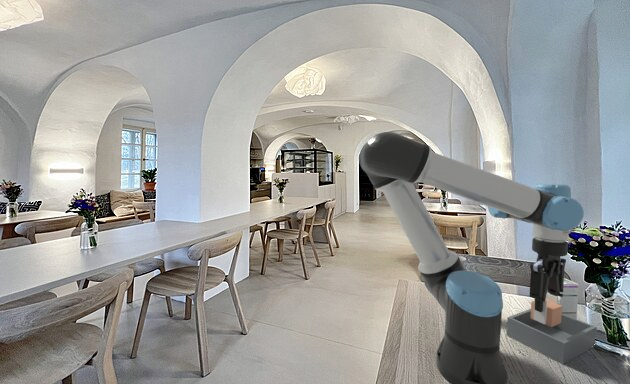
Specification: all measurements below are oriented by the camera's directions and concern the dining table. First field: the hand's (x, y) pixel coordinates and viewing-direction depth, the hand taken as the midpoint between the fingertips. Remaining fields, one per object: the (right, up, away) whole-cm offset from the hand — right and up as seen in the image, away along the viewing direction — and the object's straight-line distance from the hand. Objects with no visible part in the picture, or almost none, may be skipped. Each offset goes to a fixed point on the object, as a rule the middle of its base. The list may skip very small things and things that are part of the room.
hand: (545, 319), depth 77 cm
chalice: (-14, -6, +23) cm, 28 cm away
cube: (0, 0, 0) cm, 0 cm away
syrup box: (+14, -7, +11) cm, 19 cm away
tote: (+3, -7, +2) cm, 8 cm away
